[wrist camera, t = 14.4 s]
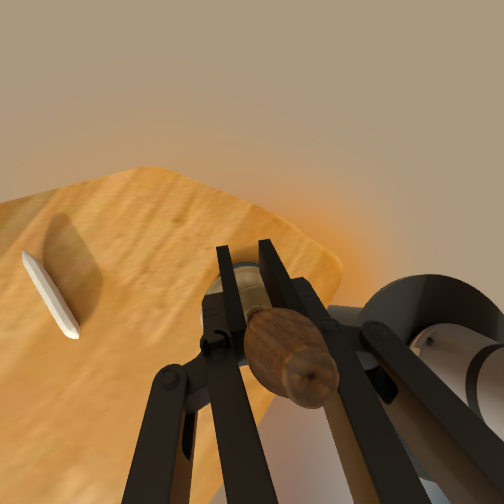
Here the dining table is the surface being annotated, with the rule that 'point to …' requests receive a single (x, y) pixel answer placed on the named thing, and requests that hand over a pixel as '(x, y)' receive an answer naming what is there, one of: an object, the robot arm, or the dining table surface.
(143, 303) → the dining table surface
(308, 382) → the hand bell
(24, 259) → the pen
